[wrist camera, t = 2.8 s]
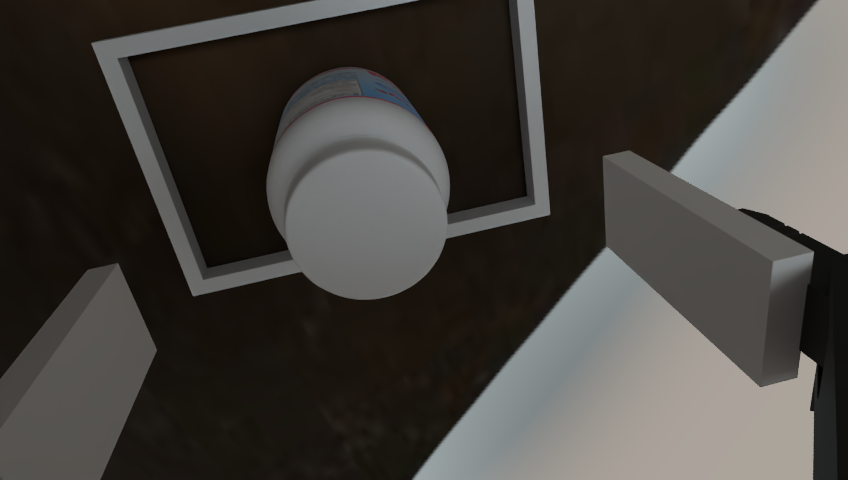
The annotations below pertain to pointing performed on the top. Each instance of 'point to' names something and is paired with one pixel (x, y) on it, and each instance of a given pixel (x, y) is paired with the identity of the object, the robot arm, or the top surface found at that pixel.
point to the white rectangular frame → (320, 5)
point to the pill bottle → (358, 185)
